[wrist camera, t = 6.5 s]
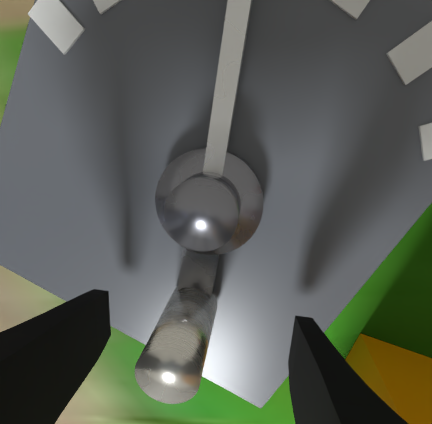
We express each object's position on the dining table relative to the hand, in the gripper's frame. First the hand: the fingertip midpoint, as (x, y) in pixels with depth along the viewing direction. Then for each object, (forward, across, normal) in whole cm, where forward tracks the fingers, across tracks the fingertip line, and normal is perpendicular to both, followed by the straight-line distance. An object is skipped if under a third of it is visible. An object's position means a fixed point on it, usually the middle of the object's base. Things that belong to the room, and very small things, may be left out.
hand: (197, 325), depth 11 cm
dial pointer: (+2, 0, -6) cm, 6 cm away
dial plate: (+4, 0, -6) cm, 8 cm away
